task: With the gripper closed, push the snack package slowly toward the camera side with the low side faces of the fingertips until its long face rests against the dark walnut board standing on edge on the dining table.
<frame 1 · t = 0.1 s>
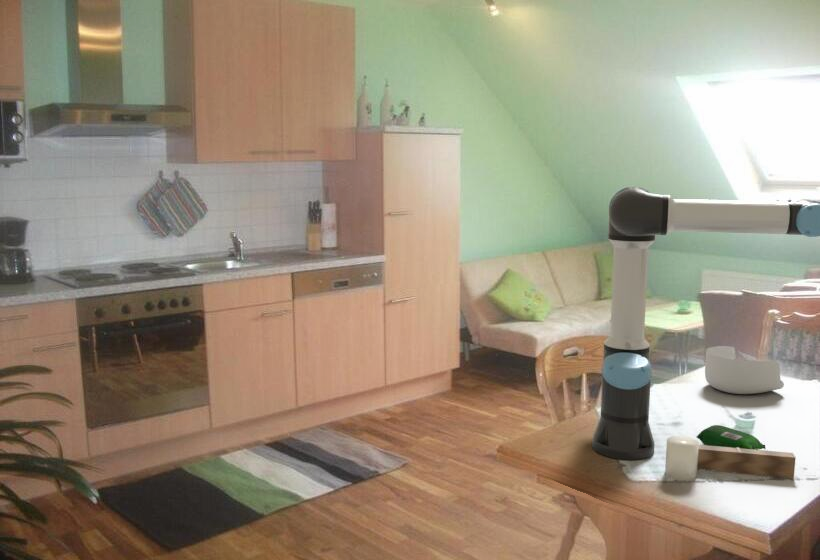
batten: (741, 471, 192), on the table
snack package: (729, 451, 206), on the table
cup: (680, 474, 191), on the table
bowl: (736, 390, 258), on the table
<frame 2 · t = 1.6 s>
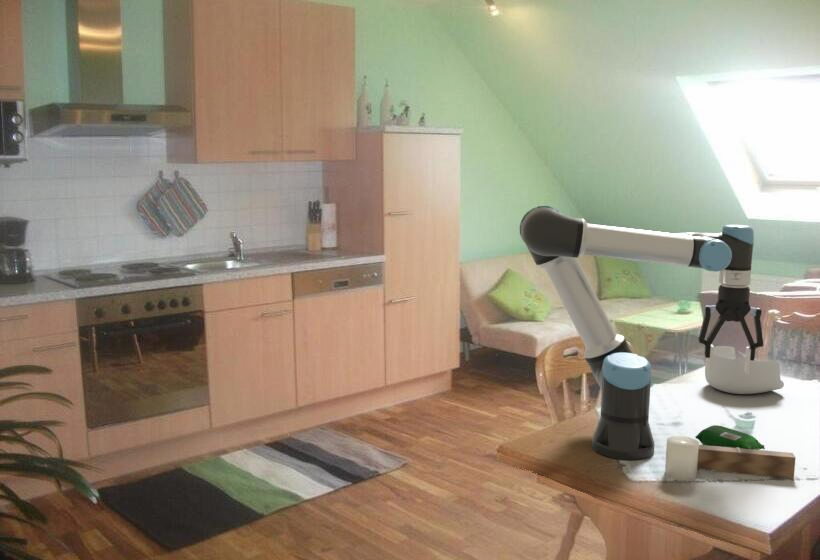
hand: (728, 370, 214), 17 cm above the table, fingers open, 8 cm apart
nothing on the table moved.
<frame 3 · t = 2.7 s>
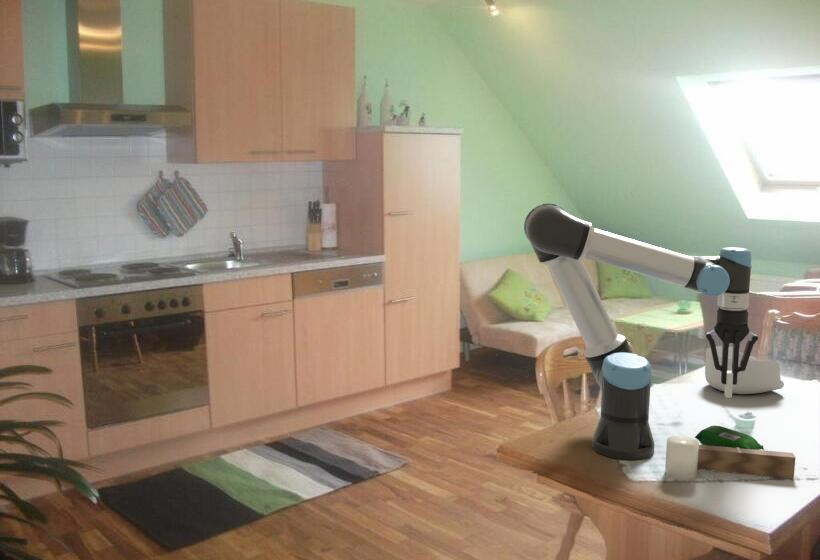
hand: (728, 395, 215), 11 cm above the table, fingers closed
nothing on the table moved.
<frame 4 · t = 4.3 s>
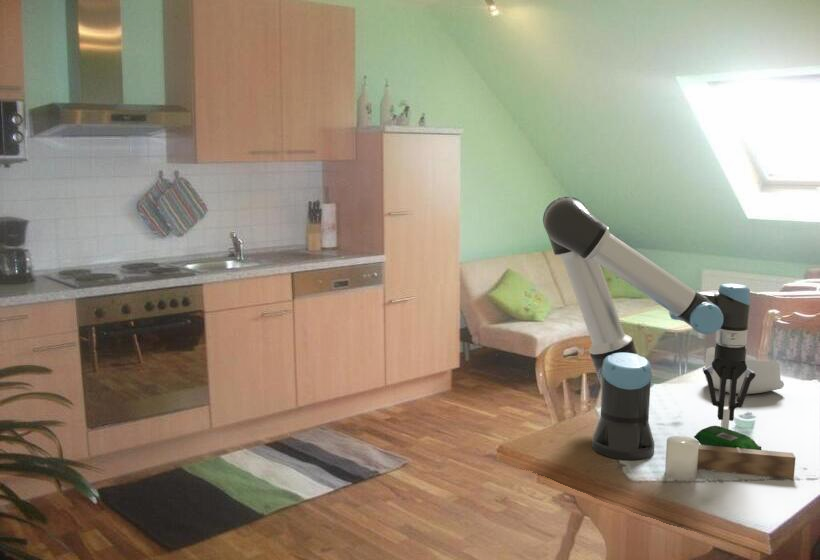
hand: (724, 431, 215), 1 cm above the table, fingers closed
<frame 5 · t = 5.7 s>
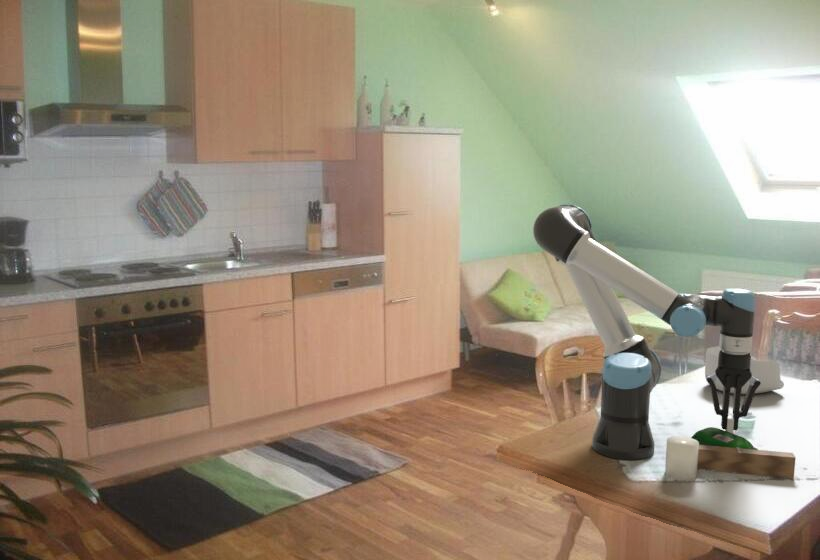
hand: (728, 441, 208), 1 cm above the table, fingers closed
snack package: (722, 454, 204), on the table
everything else where it was.
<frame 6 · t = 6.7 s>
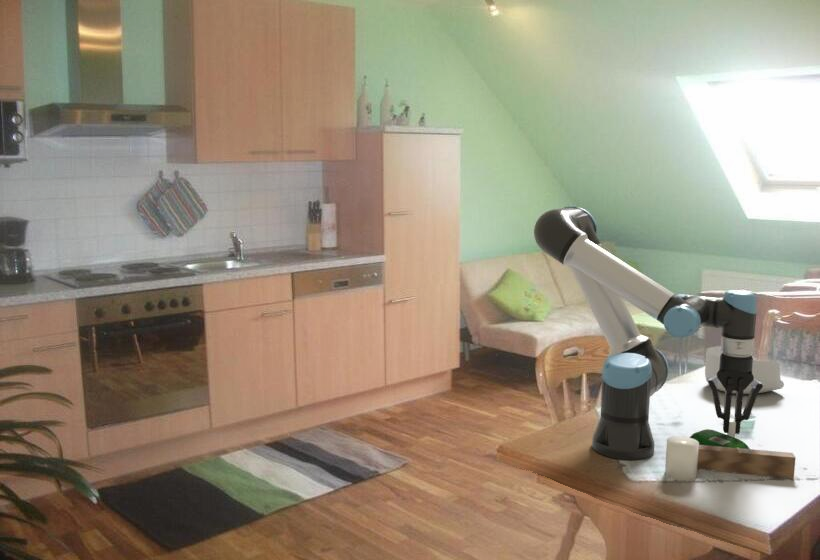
hand: (730, 445, 205), 1 cm above the table, fingers closed
snack package: (718, 456, 202), on the table
everything else where it was.
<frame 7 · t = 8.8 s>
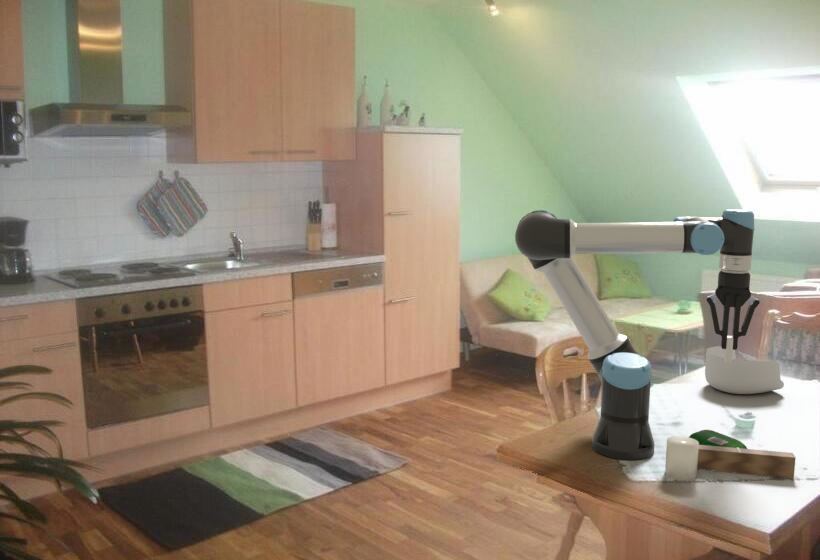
hand: (728, 361, 211), 21 cm above the table, fingers closed
nothing on the table moved.
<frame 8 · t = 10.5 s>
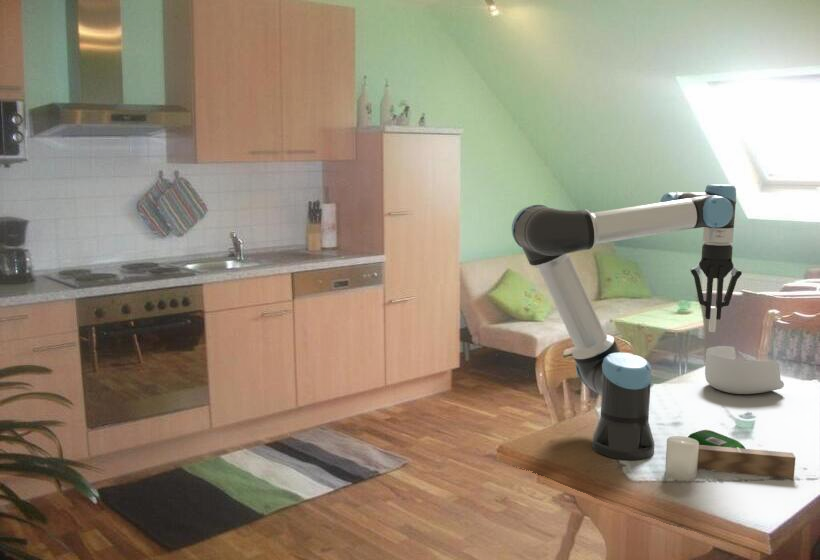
hand: (711, 331, 220), 26 cm above the table, fingers closed
nothing on the table moved.
at the end: snack package inside the target area on the table beside the batten (5.0 cm from its centre), on the table; snack package on the table; cup moved 0.1 cm from its start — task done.
